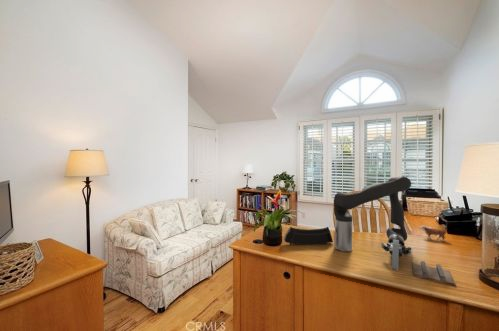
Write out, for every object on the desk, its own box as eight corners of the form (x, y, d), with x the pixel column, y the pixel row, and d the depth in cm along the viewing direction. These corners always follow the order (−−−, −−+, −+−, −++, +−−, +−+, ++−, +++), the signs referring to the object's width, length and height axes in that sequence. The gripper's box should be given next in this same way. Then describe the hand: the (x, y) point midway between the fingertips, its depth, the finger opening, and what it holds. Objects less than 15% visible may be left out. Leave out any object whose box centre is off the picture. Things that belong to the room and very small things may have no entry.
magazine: (334, 228, 141) (290, 215, 138) (337, 230, 137) (292, 217, 135) (326, 253, 141) (282, 241, 139) (329, 256, 138) (284, 243, 135)
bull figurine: (419, 235, 152) (419, 224, 152) (445, 240, 144) (445, 227, 144) (419, 237, 149) (420, 225, 148) (446, 242, 141) (446, 229, 141)
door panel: (392, 268, 107) (392, 244, 106) (392, 262, 113) (393, 239, 113) (398, 269, 105) (398, 245, 105) (398, 263, 112) (398, 240, 111)
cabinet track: (413, 276, 100) (413, 269, 100) (412, 264, 110) (412, 258, 110) (455, 286, 92) (455, 279, 92) (449, 272, 103) (449, 266, 102)
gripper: (381, 233, 126) (379, 243, 111) (411, 238, 118) (413, 249, 104) (381, 246, 126) (379, 257, 112) (411, 252, 118) (413, 265, 104)
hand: (395, 253), depth 108 cm, fingers closed on door panel, 2 cm apart
